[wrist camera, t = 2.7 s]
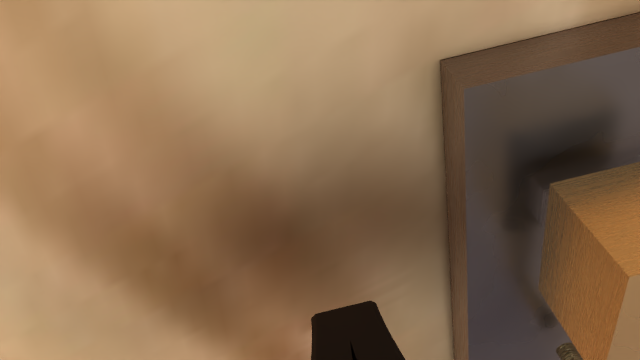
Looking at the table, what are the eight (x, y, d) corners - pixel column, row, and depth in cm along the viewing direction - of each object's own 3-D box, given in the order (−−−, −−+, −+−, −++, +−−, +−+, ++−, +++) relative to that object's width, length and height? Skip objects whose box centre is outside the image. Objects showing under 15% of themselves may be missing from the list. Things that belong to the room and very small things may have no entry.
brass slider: (608, 342, 17) (682, 447, 14) (519, 364, 17) (575, 473, 14) (663, 137, 12) (793, 237, 9) (537, 167, 12) (629, 276, 9)
